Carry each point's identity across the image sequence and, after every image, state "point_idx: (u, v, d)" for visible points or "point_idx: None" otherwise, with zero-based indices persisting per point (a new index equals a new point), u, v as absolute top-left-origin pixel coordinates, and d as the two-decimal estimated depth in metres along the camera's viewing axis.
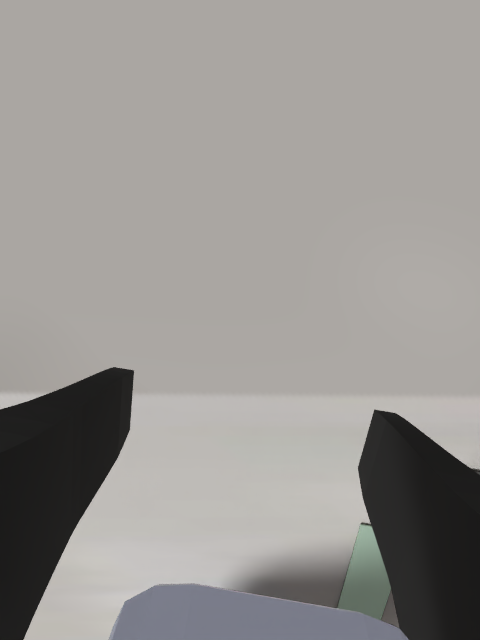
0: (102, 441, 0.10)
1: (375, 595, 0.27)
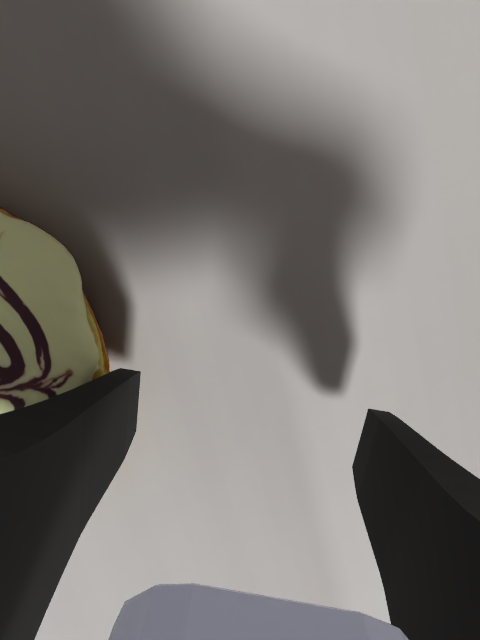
0: (110, 442, 0.10)
1: None
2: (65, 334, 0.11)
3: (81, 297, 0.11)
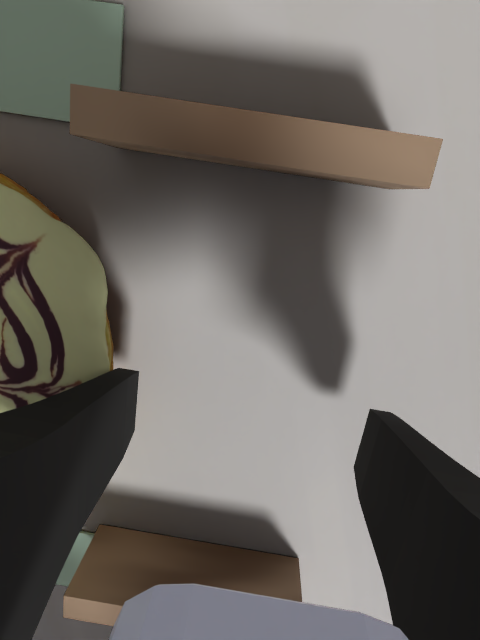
0: (108, 442, 0.10)
1: None
2: (83, 346, 0.11)
3: (104, 310, 0.11)
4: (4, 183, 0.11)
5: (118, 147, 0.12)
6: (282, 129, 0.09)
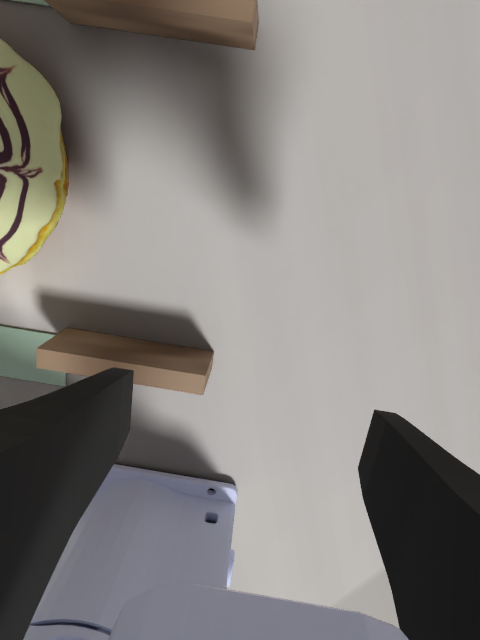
0: (102, 441, 0.10)
1: None
2: (43, 143, 0.16)
3: (59, 127, 0.17)
4: None
5: (70, 21, 0.17)
6: None
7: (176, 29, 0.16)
